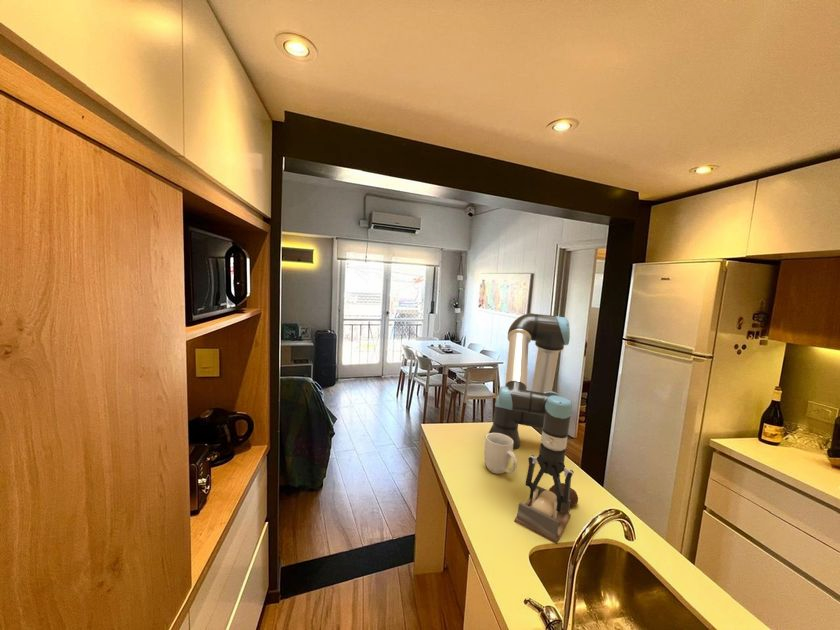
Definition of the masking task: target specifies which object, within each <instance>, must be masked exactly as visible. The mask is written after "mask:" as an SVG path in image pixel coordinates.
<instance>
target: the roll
mask: <svg viewBox="0 0 840 630" xmlns="http://www.w3.org/2000/svg"><path fill="white" fill-rule="evenodd" d="M556 498H557V496H556V495H555V494H554V493H553V492H551V491H549V489H546V490H545V491H543V492H542V493H541V494H540V495H539V496H538V498H537V499H536V500H535V502H534V503H533V504H532V506H531V508H534V509H536V510H538V511H540V512H542V513H544V514H546V515H548V516H550V517H551V516H552V515H553V508H554V501H555V500H556Z"/></svg>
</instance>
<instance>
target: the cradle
mask: <svg viewBox="0 0 840 630" xmlns="http://www.w3.org/2000/svg"><path fill="white" fill-rule="evenodd" d="M536 488H537V489H538V496H539V495H540V494H541V493H542V492H543V491H545V490H547V489H546V488H544V487H542V486H539V485H537V487H536ZM554 494H555V493H554ZM555 495H556V494H555ZM538 496H537V498H538ZM570 501H571V500H569V501H568V503H567V504H566V503H562V509H561V511H560V512H557V518H556V519H554V518H552V516H553V515H552V516H551V517H550V516H548V515H546V514H544V513H542V512H540V511H538V510H536V509H534V508H531V506H532V499H530V496H528V499H526V501H525V503H523V502H518V509H517V513H516V516H515V517H514V523H516V524H519V525H520V526H522V527H524V528H525V529H528V530H530V531H532V532H533V533H535V534H537V535H539V536H541V537H543V538H544V539H547V540H549V541H550V542H552V543H555V544H558V542H559V541H560V539H561V536H562V534H563V532H564V530H565V528H566V526H567V524H568V522H569V521H570V518H571V515H572V514H571V513H570V507H571V506H570Z"/></svg>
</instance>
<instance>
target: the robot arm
mask: <svg viewBox="0 0 840 630" xmlns="http://www.w3.org/2000/svg"><path fill="white" fill-rule="evenodd" d="M570 337H571V331H570V322H569V320H568V319H567V318H566V317H565V316H564V317H563V316H558V315H550V314H549V315H548V314H539V313H533V312H532V313H531V312H530V313H525V314H522V315H521V316H519V317H517V318H516V319H515V320H514V321H513V322H512V323H511V325H510V326H509V329H508V331H507V340H508V343H509V344H508V353H507V365H506V373H505V385H504V386H500V387H499V392H498V395H497V396H496V398H495V403H494V412H493V418H492V421H493V422H492V425H491V427H490V429H489V431H488V434H489V433H500V434H504V435H506V436H509V437H510V438H511V439H512V440H513V442H514V443H513V450H516V449H518V448H520V446H521V444H520V443H521V440H520V434H519V425H520V426H521V425H522V426H526V427H532V428H537V429H539V430H541V436H540V437H541V438H540V442H541V443H540V445H539V452H538V456H535V455H532V454H531V455H530V456H529V457H528V469H527V472H526V478H525V483H524V484H525V486H526V487H528V488H529V489H530V491H529V497H530V499H532V504H533V503H534V502H535V500H536V499H537V496H538V489H537V488H536V487H537V486H539V483H540V482H541V479H542V477H543V475H544V474H545V475H550V477H552V480H553V483H554V484H553V485H555V490H556V496H557V498H556V500H555V501H554V508H553V516H552V518H554V519H556V518H557V512H560V511H561V509H562V503H566V504H567V503H568V501H569V499H570V488H572V487H571V486H572V485H571V484H572V483H571V482H572V477H573V475H574V470H572V469H568V468H567V467H566V466H565V458H566V451H567V450H566V449H567V445H568V437H569V436H568V435H569V429H570V423H571V417H572V414H573V413H572V412H573V411H572V407H573V404H572V401H571V400H570V399H568V398H567V397H564V396H561V395H560V394H559V393H557V392H555V391H553V387H554V382H555V381H554V380H555V375H556V370H557V366H558V361H559V360H558V358H559V354H560V352H561V351H563V350H564V347H565V346H569V343H570V339H571V338H570ZM531 342H535V343H534V345H535V346H536V347H537V354H536V360H535V367H534V373H533V380H532V386H531V390H527V384H528V364H529V363H528V361H529V344H530V343H531ZM536 463H538V465H539V471H538V473H537V474H536V476H535V478H534V480H533V477H534V471H535V467H536ZM561 473H564V477H565V479H564V484H565V488H564V496H563V493H562V488H561V483H562V482H561V475H560V474H561ZM532 480H533V482H532Z"/></svg>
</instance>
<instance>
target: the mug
mask: <svg viewBox="0 0 840 630" xmlns="http://www.w3.org/2000/svg"><path fill="white" fill-rule="evenodd" d="M488 433H489V432H488ZM513 443H514V442H513V440H512V439H511V438H510V437H509V436H506V435H504V434H500V433H489V434H486V436H485V441H484V449H483V450H484V451H483V452H484V462H485V466H486V467H487V469H488V471H490V472H491V473H492V474H496V475H502V474H504V473H509V474H510V473H514V472H515V471H516V470H517V467H518V460H517V457H516V455H515V453H514V452H513V451H514V449H513ZM511 460H512V468H511V469H509V466H510V464H511Z"/></svg>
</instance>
